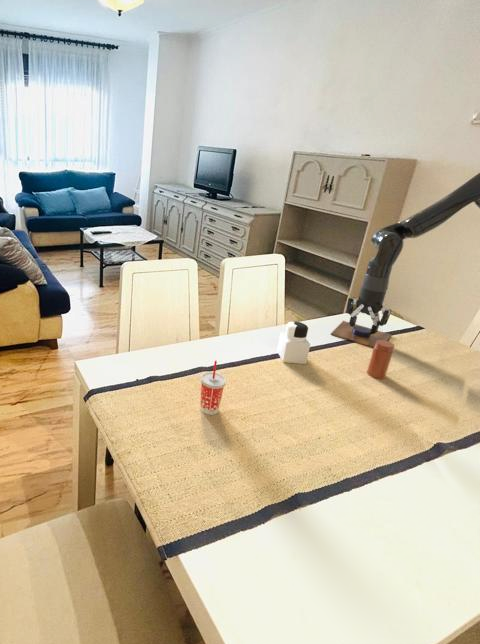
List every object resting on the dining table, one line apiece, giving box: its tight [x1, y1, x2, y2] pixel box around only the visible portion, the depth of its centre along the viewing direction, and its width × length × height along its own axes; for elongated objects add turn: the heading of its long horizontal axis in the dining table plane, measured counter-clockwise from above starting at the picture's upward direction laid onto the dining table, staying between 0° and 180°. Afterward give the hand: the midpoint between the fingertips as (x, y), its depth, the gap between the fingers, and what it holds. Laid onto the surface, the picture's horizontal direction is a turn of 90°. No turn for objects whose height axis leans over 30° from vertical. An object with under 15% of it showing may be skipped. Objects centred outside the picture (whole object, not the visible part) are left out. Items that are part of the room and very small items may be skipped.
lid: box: [352, 325, 371, 337], centre depth 140 cm, size 6×6×2 cm
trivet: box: [330, 320, 391, 349], centre depth 141 cm, size 16×16×1 cm
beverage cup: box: [199, 360, 227, 416], centre depth 95 cm, size 6×6×14 cm
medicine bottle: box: [276, 321, 311, 365], centre depth 122 cm, size 7×7×12 cm
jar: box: [366, 340, 395, 380], centre depth 114 cm, size 5×5×11 cm
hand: (362, 329), depth 140 cm, fingers open, 6 cm apart
